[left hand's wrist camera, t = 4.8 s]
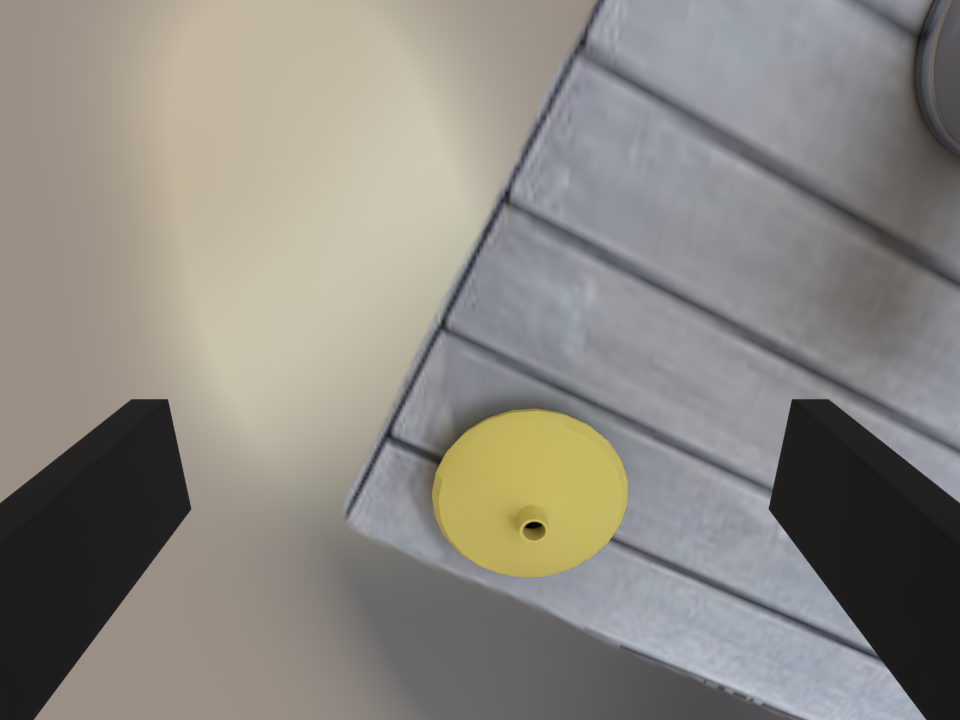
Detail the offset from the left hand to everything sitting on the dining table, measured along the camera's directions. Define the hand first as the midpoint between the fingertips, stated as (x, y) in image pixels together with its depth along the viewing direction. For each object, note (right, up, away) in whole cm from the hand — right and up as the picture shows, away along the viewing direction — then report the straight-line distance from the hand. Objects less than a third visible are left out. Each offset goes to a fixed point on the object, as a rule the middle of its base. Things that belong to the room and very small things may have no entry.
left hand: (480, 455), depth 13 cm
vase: (+4, -8, +38) cm, 39 cm away
